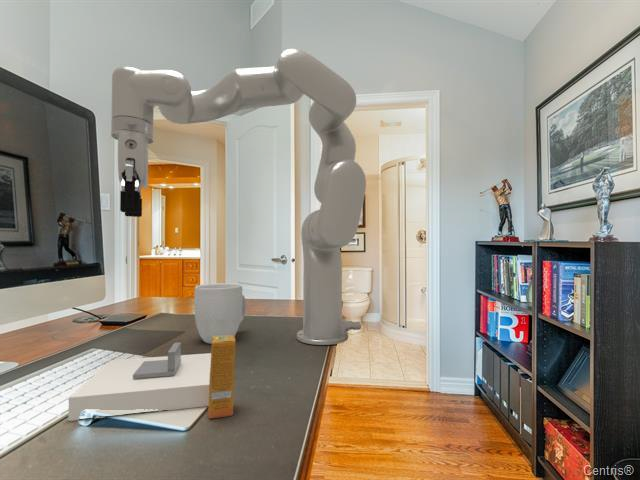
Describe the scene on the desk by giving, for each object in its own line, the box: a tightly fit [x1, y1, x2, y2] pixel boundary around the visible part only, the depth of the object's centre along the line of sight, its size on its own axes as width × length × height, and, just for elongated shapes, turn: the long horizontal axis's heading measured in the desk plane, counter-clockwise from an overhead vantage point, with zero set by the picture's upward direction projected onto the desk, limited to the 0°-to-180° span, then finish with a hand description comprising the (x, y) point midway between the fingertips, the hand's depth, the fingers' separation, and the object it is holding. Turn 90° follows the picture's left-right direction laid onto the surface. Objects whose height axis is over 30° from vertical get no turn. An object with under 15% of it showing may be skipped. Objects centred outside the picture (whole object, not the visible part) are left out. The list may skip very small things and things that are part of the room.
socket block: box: [67, 352, 211, 422], centre depth 50 cm, size 18×14×3 cm
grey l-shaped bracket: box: [133, 341, 182, 379], centre depth 50 cm, size 6×6×3 cm
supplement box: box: [207, 335, 236, 419], centre depth 44 cm, size 3×3×10 cm
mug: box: [193, 282, 247, 345], centre depth 79 cm, size 15×11×13 cm
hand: (131, 214), depth 66 cm, fingers open, 9 cm apart
